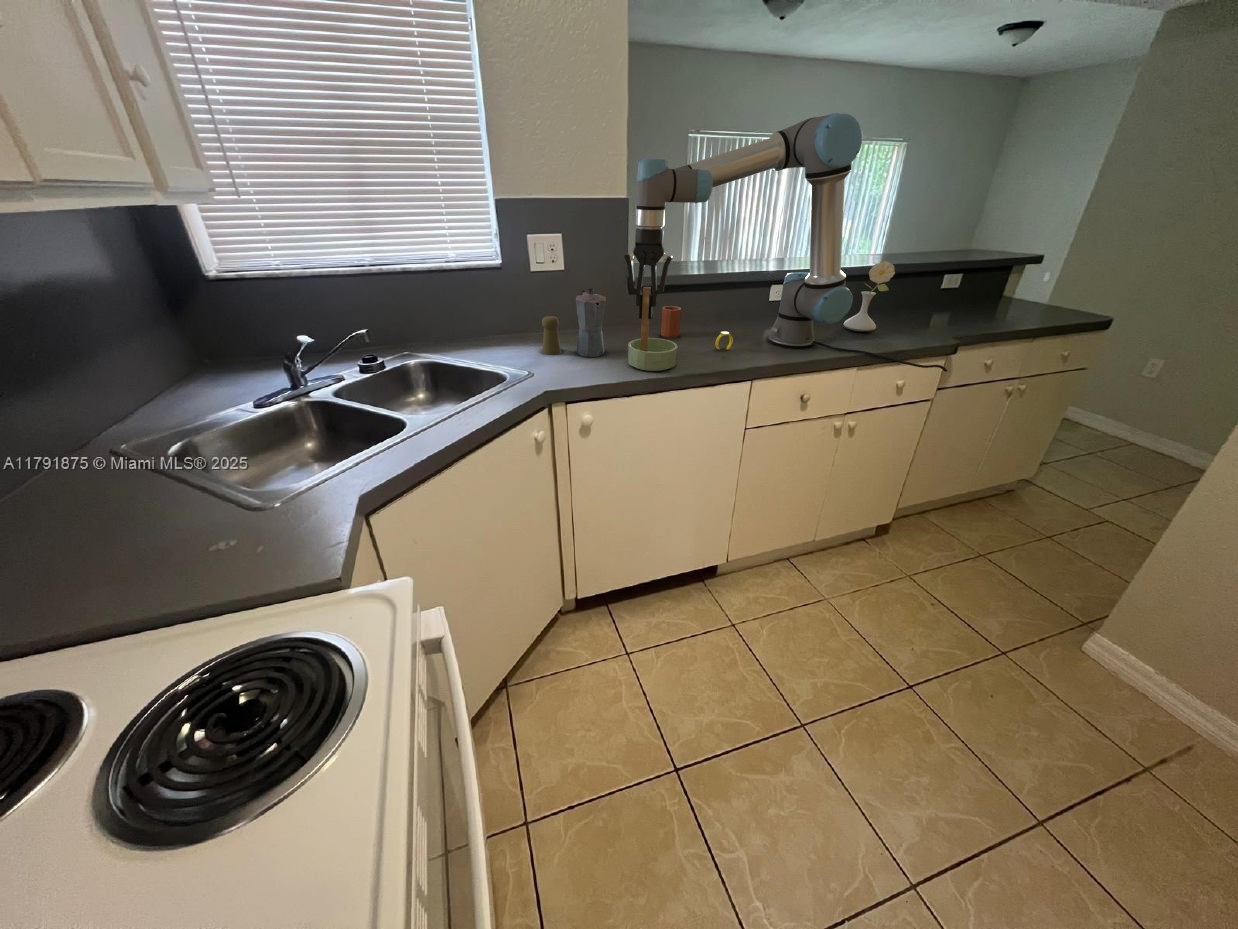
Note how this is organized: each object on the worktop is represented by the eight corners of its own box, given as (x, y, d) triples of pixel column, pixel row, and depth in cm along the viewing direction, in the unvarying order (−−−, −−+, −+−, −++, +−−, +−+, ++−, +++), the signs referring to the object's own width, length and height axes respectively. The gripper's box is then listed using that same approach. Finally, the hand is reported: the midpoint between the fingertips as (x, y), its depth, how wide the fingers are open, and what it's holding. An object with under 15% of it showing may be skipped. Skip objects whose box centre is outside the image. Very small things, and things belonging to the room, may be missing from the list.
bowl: (678, 358, 152) (679, 339, 149) (673, 374, 140) (674, 354, 137) (632, 355, 154) (632, 336, 151) (623, 370, 142) (624, 350, 139)
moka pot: (585, 362, 148) (584, 293, 137) (566, 347, 159) (564, 284, 149) (613, 357, 152) (614, 291, 141) (593, 344, 163) (592, 281, 153)
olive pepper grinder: (564, 349, 157) (563, 315, 152) (556, 355, 152) (554, 320, 147) (547, 347, 159) (545, 313, 153) (539, 353, 154) (536, 318, 148)
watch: (728, 348, 163) (730, 330, 160) (733, 350, 161) (735, 332, 157) (713, 350, 160) (715, 332, 157) (717, 352, 158) (720, 334, 155)
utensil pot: (679, 334, 175) (681, 306, 170) (677, 340, 170) (680, 310, 164) (661, 333, 176) (663, 305, 171) (659, 338, 171) (661, 309, 166)
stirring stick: (647, 355, 147) (651, 287, 137) (646, 358, 145) (649, 288, 135) (641, 355, 147) (644, 286, 137) (640, 357, 146) (642, 287, 135)
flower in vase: (836, 328, 187) (853, 258, 174) (852, 324, 193) (870, 256, 180) (868, 336, 178) (889, 264, 165) (884, 332, 184) (906, 261, 171)
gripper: (679, 227, 130) (672, 316, 142) (624, 225, 133) (622, 312, 145) (676, 230, 124) (670, 322, 136) (619, 227, 126) (617, 319, 138)
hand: (645, 317), depth 140 cm, fingers closed on stirring stick, 2 cm apart
